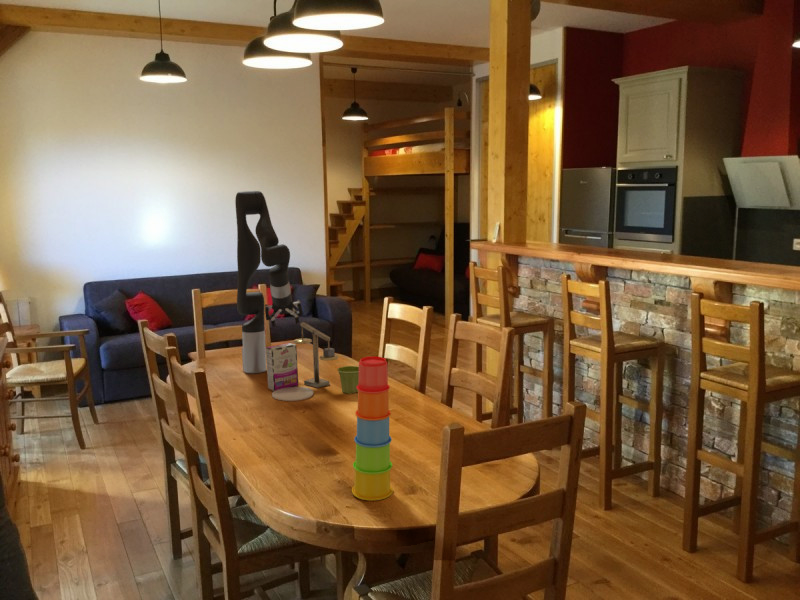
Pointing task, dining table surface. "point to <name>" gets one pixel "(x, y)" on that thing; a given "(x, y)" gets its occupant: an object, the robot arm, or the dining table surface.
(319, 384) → the balance
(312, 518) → the dining table surface
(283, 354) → the candy bar box
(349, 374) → the plant pot
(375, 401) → the stacking cups
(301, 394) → the dish
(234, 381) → the dining table surface
